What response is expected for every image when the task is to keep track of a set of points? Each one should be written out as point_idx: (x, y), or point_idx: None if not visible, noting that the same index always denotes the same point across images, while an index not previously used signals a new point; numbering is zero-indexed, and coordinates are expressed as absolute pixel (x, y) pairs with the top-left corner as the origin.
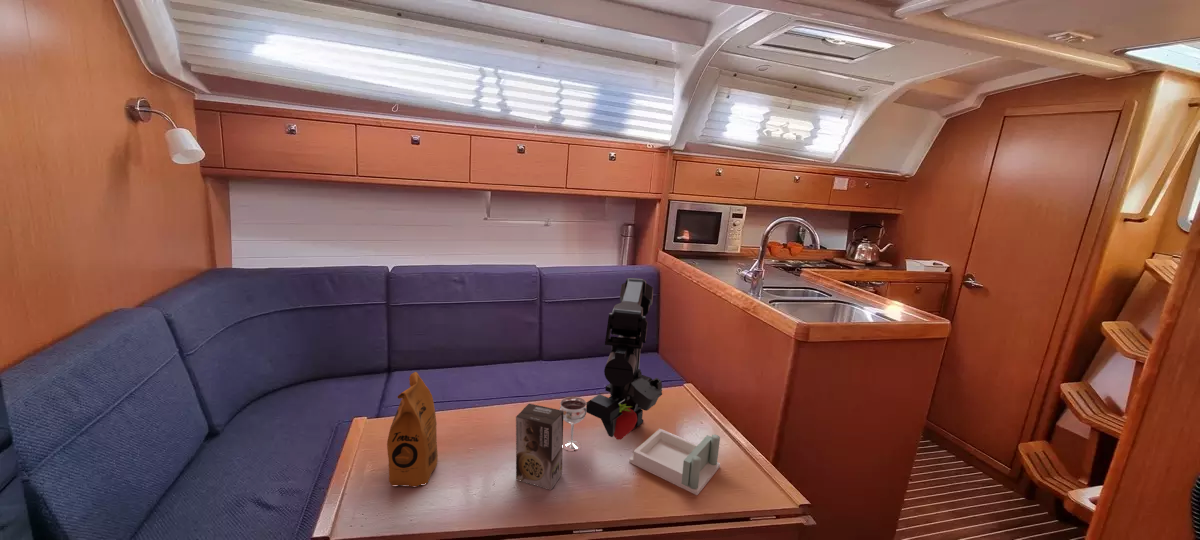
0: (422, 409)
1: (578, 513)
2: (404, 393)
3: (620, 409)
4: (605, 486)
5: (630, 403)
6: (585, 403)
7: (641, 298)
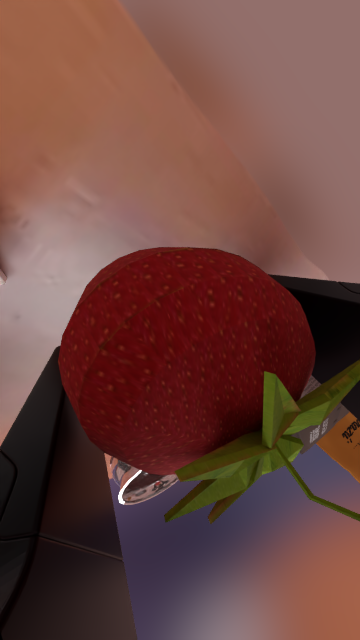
0: (349, 433)
1: (237, 195)
2: None
3: (295, 421)
4: (140, 229)
5: (79, 538)
6: (122, 483)
7: None
